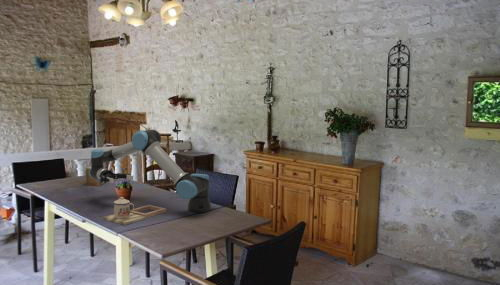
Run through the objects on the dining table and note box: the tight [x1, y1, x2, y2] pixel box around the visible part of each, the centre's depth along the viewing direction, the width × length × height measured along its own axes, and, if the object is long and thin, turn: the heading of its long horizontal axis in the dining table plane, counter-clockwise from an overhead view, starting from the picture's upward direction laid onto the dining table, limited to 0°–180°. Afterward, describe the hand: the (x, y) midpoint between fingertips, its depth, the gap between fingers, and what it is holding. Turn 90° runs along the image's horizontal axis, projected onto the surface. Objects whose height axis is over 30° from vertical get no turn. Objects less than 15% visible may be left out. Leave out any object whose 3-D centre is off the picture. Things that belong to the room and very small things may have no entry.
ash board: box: [103, 213, 146, 226], centre depth 242 cm, size 18×15×2 cm
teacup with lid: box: [113, 196, 135, 219], centre depth 241 cm, size 12×9×12 cm
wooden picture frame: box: [130, 204, 167, 219], centre depth 257 cm, size 15×18×2 cm
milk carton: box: [85, 164, 105, 187], centre depth 332 cm, size 11×11×19 cm
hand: (123, 179), depth 255 cm, fingers open, 13 cm apart
